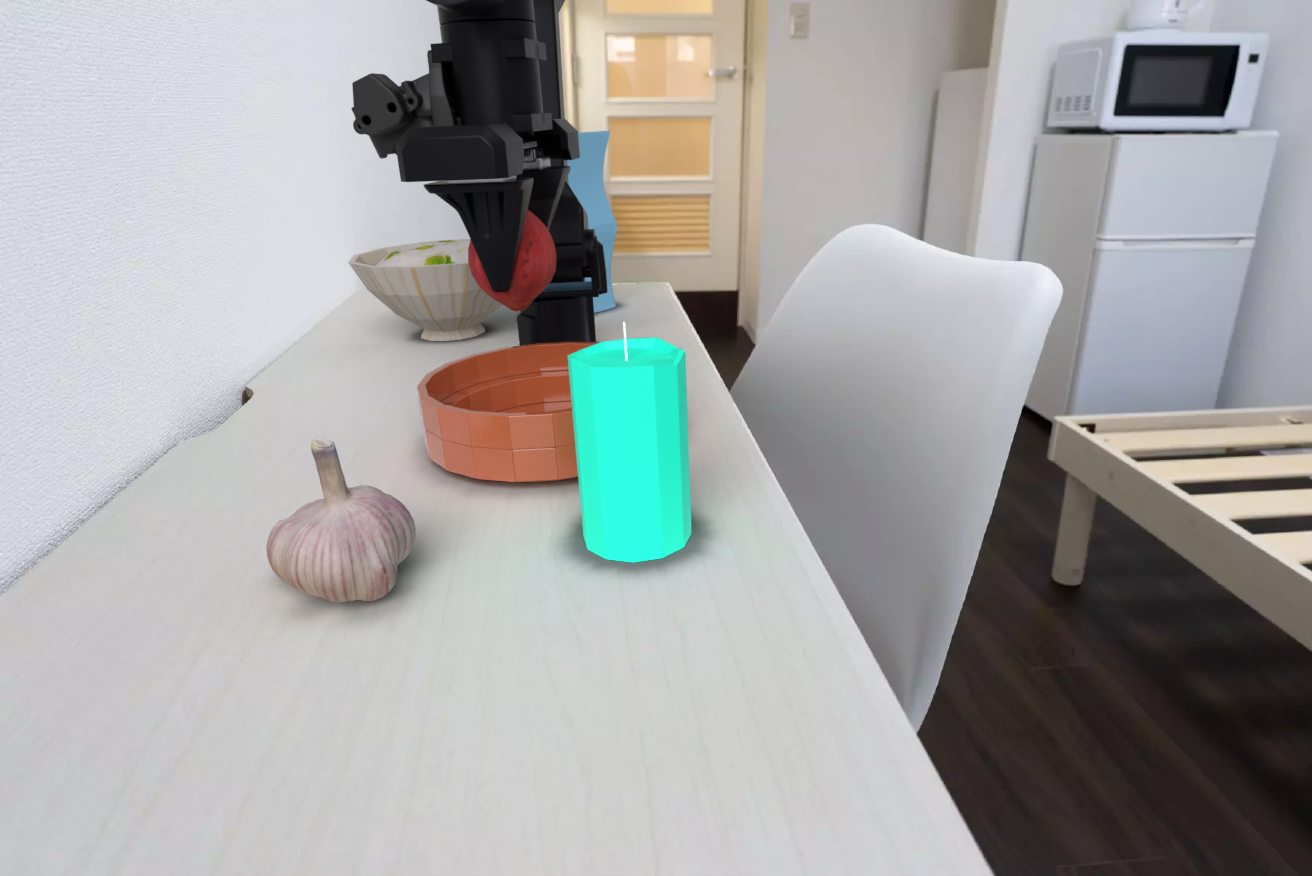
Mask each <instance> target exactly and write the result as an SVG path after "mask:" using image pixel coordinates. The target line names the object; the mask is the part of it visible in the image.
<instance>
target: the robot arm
mask: <svg viewBox="0 0 1312 876" xmlns="http://www.w3.org/2000/svg"><path fill="white" fill-rule="evenodd" d="M425 1H426V2H428V3H429V4H432V5H434V6H436V7H437V14H438V15H437V16H438V23H439V31H440V38H441V39H440V40H441V42H437V43H436V42H435V43H430V44H429V45H430V49H428V50H427V52H426V53H427V54H426V55H427V57H426V58H427V64H428V65H427V66H428V73H426V74H424V75H422V76H419V77H417V78H416V79H413V80H404V81H402V82H401V83H400V85H398V84H397V83H395V81H394V80H392V79H391V78H390V77H389V76H388V75H386V74H384V73H373V72H372V73H369V74H366V75H365V76H363V77H361V78H359V79H357V80H355V81H353V82H352V84H351V85H352V102H353V106H352V107H350V108H351V111H352V113H353V115H354V120H353V122H352V126H353V130H354V132H356V133H357V134H358V135H366V136H368V137H369V139H370V141H371V144H372V145H373V147H374V150H375V151H376V153H377V155H378V157H379V159H381V160H382V159H386V158H388V155H395V156H396V157H397V158H396V159H397V164H398V171H399V177H400V182H402V183H421V182H429V183H424V184H423V185H422V186H423V187H424V189H425V191H427V193H429V194H430V195H431V194H432V195H436V196H437V197H439V198H440V199H441V200H442V201H444V202H445V203H446V204H448V205H449V206H450V207H452V208H453V209H454V210H455V211H456V213H458V215H459V217H460V219H461V221H462V223H463V225H464V227H465V230H466V232H467V234H468V237H469V239H471V241H472V244H473V246H474V248H475V251H476V253H477V256H478V258H479V260H480V263H481V265H482V267H483V270H484V272H485V275H486V277H487V279H488V282H489V284H490V287H491V289H492V290H493V291H494V292H507V291H509V290H510V288H511V284H512V280H513V276H514V272H515V267H516V263H517V258H518V253H519V248H520V243H521V238H522V234H523V229H524V224H525V219H526V214H527V210H529V211H530V212H532V213H533V214H534V215H536V216H537V217H538V218H539V219H540V220H541V221H542V222H543V224H544V225H545V226H546V228H547V229H548V231H549V232H550V234H551V237H552V239H553V241H554V245H555V250H556V256H557V261H556V271H555V273H554V275H553V278H552V280H551V282H550V283H549V284H548V285H547V287H546V288H545V289H544V290H543V291H542V292H541V293H540V294H539V295H538V296H537V297H536V298H535V299H534V300H533V301H532V302H531V304H530V305H529V306H528V308H526V309H525V310H523V311H519V313H518V314H517V315H516V322H517V323H516V324H517V334H518V342H519V346H521V345H529V344H536V343H537V344H538V343H555V342H597V331H596V320H595V319H596V318H595V313H594V304H593V297H599V295H600V294H604V293H607V292H608V289H607V275H606V265H605V257H604V248H603V245H602V244H601V243H600V242H599V241H598V238H597V236H596V234H595V229H589V228H588V216H587V213H586V211H585V209H584V208H583V206H582V205H581V203H580V201H579V200H578V198H577V197H576V195H575V194H574V192H573V190H572V189H571V187H570V186H569V180H568V174H569V173H570V166H568V164H567V160H574V159H577V158H580V151H579V138H578V133H579V130H578V129H576V127H574V125H572V124H571V123H570V122H569V121H568V120H567V119H566V117H565V99H564V83H563V81H564V80H563V65H562V64H563V63H562V47H561V32H560V31H561V29H560V12H561V10H562V8H563V6H564V4H565V2H566V0H425ZM589 277H591V281H585V278H589Z"/></svg>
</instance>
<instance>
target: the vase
mask: <svg viewBox="0 0 1312 876" xmlns="http://www.w3.org/2000/svg"><path fill="white" fill-rule="evenodd" d="M610 133H611V131H610V130H597V131H582V132H581V131H579V132H578V138H579V151H580V158H577V159H574V160H567V164H568V166H570V173H569V174H568V180H569V186H570V187H571V189H572V190H573V192H574V194H575V195H576V197H577V198H578V200H579V201H580V203H581V205H582V206H583V208H584V209H585V211H586V213H587V216H588V228H589V229H595V234H596V236H597V238H598V241H599V242H600V243H601V244H602V245H603V248H604V257H605V265H606V275H607V289H608V292H607V293H604V294H600V295H599V297H593V304H594V314H596V313H600V312H604V311H607V310H610V309H611V310H612V309H613V308H614V309H615V308H616V307H617V304H616V300H615V299H616V298H615V296H614V295H615V294H614V290H613V284H612V281H613V280H612V259H613V252H614V246H615V242H616V241H615V240H616V236H617V232H618V227H617V225H618V224H617V221H616V218H615V216H614V213H613V211H612V209H611V206H610V204H609V200H608V197H607V194H606V189H605V182H604V168H605V167H604V166H605V158H606V151H607V147H608V144H609V143H608V142H609V139H610V135H611V134H610ZM585 281H591V277H589V278H585Z"/></svg>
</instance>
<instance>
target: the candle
mask: <svg viewBox="0 0 1312 876" xmlns="http://www.w3.org/2000/svg"><path fill="white" fill-rule="evenodd" d="M622 331H623V338H621V339H612V340H606V341H600V342H597V344H595V345H592V346H589V347H587V348H584V349H581V350H579V351H577V352H574V353H572V354H570V355H567V357H568V368H569V379H570V391H571V402H572V413H573V425H574V436H575V447H576V459H577V470H578V477H577V481H578V491H579V503H580V513H581V524H582V535H583V536H582V537H583V539H584V543H585V547H586V550H588V551H589V552H591V553H593V554H595V555H597V556H598V557H600V558H602V559H604V560H607V561H615V562H616V561H617V562H625V563H641V562H646V561H654V560H660V559H664V558H666V557H667V556H670V555H673V554H674V553H676V552H678V551H680V550H682V549H684V548H685V547H686V545H687V543H688V541H689V539H690V538H691V536H692V533H693V531H692V530H693V529H692V504H691V502H692V501H691V476H690V475H691V474H690V473H691V472H690V444H689V417H688V416H689V415H688V389H687V387H688V386H687V362H686V361H687V359H686V357H687V356H686V350H685V349H683V348H680V347H677V346H675V345H674V344H672V343H670V342H668V341H666V340H664V339H662V338H660V337H659V336H654V337H652V336H651V337H628V338H627V322H626V321H622Z"/></svg>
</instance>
